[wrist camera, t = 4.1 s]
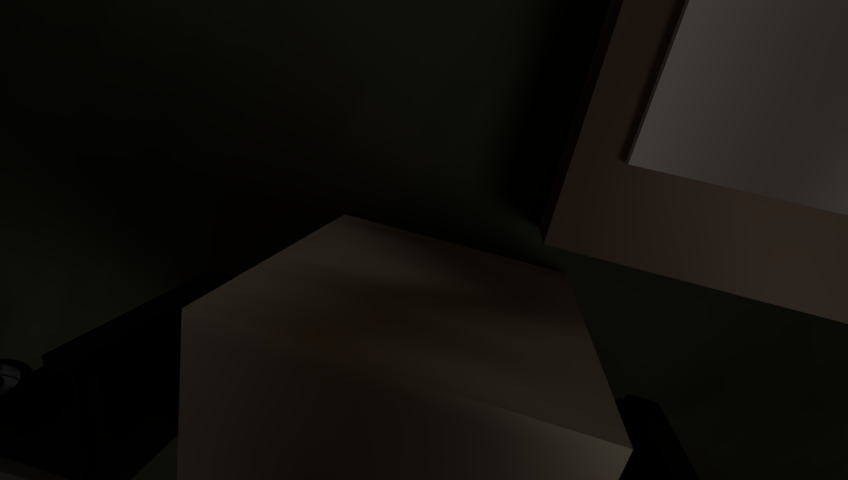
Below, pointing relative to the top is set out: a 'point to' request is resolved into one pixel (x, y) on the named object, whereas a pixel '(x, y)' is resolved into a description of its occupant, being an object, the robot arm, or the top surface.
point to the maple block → (393, 368)
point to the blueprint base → (714, 149)
